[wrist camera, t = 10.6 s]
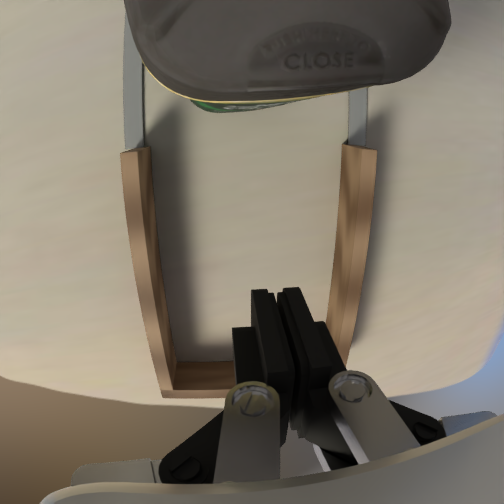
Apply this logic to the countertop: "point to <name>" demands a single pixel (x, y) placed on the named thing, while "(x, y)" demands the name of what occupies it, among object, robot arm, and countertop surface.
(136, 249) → the wooden u-shaped frame
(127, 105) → the grey bay
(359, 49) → the coffee jar
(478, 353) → the countertop surface
